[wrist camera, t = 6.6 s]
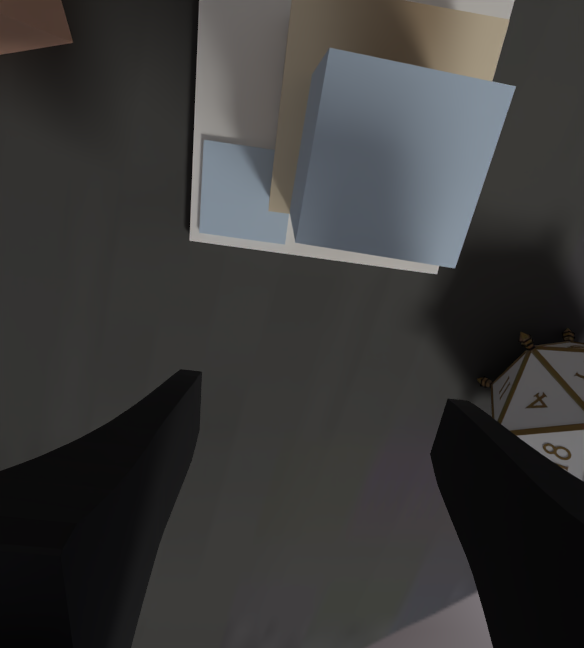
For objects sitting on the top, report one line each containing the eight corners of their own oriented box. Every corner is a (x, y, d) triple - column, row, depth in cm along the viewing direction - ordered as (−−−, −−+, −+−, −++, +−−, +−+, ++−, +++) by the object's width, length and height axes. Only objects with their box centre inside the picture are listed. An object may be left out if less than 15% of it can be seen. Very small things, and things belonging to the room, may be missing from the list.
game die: (478, 329, 27) (484, 301, 18) (647, 337, 24) (763, 309, 14) (470, 476, 26) (473, 528, 17) (645, 506, 23) (768, 591, 13)
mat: (192, 237, 21) (188, 242, 20) (206, -79, 16) (200, -90, 15) (433, 270, 21) (438, 276, 21) (516, -27, 17) (527, -35, 16)
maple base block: (269, 197, 19) (268, 211, 16) (290, 9, 16) (294, -20, 13) (420, 218, 20) (448, 235, 17) (465, 40, 17) (509, 19, 14)
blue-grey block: (289, 211, 16) (295, 243, 11) (311, 74, 14) (329, 47, 10) (404, 230, 16) (454, 268, 12) (440, 100, 15) (515, 86, 10)
